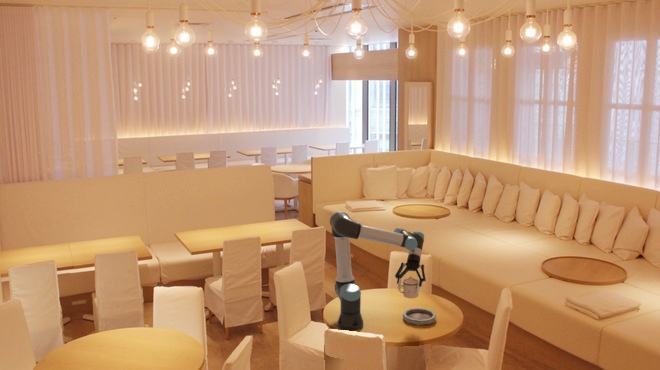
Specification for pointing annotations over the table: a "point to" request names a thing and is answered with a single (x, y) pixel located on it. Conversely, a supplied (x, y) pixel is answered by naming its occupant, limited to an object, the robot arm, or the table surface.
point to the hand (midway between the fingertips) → (407, 290)
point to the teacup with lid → (409, 288)
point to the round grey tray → (419, 316)
